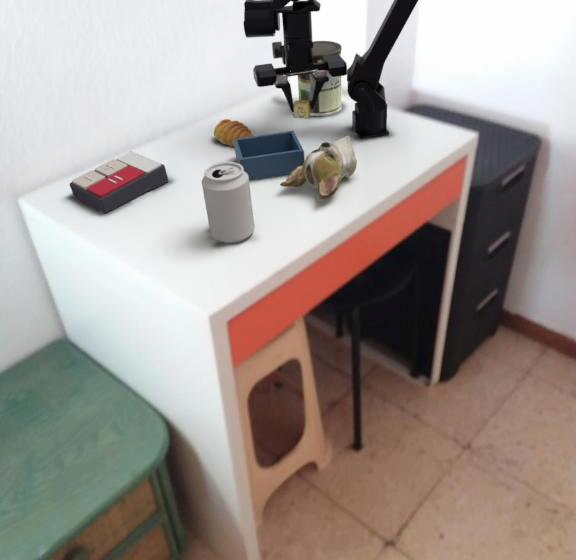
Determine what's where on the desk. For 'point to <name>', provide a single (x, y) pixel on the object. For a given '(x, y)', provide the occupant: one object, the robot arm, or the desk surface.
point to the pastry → (231, 131)
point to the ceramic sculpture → (325, 167)
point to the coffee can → (331, 90)
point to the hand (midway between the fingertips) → (302, 110)
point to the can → (228, 202)
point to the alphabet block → (301, 109)
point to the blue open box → (269, 154)
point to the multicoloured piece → (118, 181)
